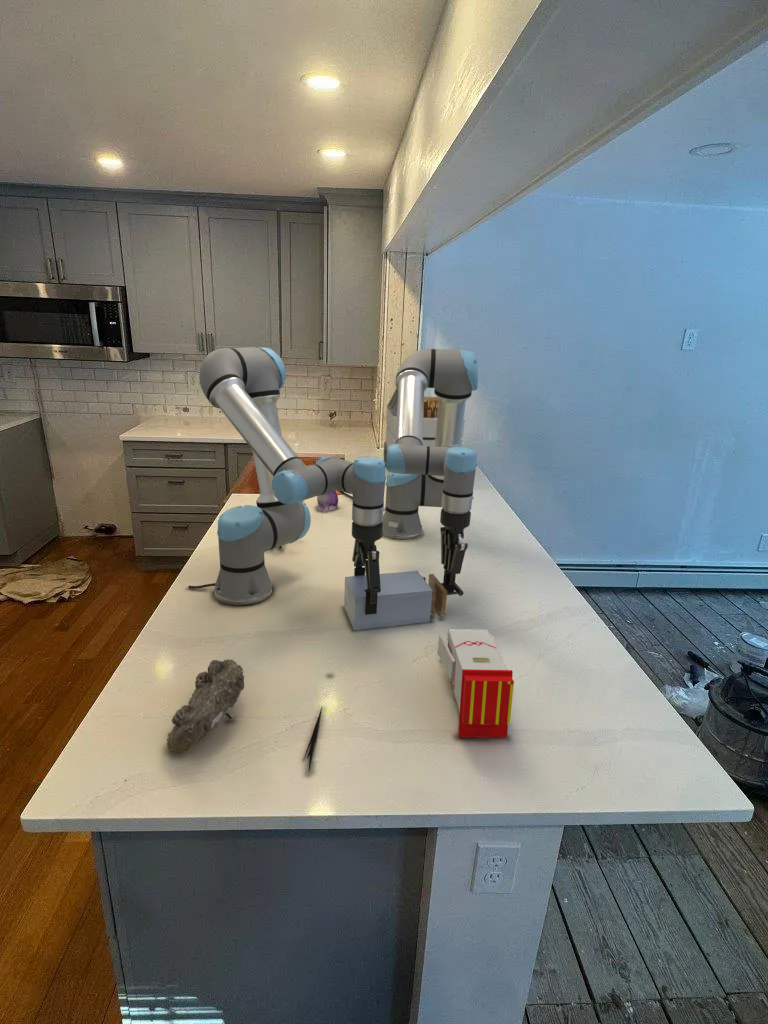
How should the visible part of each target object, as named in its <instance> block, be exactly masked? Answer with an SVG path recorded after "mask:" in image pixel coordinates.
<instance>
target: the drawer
mask: <svg viewBox="0 0 768 1024" xmlns="http://www.w3.org/2000/svg"><path fill="white" fill-rule="evenodd" d="M422 577H423V579H424V580H425V581H426V579H427V578H426V576H422ZM427 581H428V582H427ZM427 581H426V582H427V584H428V585H429V587H430V588H431V589H432V602H431V614H430V615H432V614H435V611H437V612H438V614H439V615H440V616H441V617H443V616H446V609H447V598H448V596H453V595H458V596H459V597H462V596H463V595H464V590H463V589H462V588H461V587H460V586H459V585H458V583H457V582H455V587H454V592H447V590H446V589H445V588H444V587H443V582H440V580H439V579H438V578H437V577H436V575H435V574H434V573H429V574H428V580H427Z"/></svg>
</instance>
